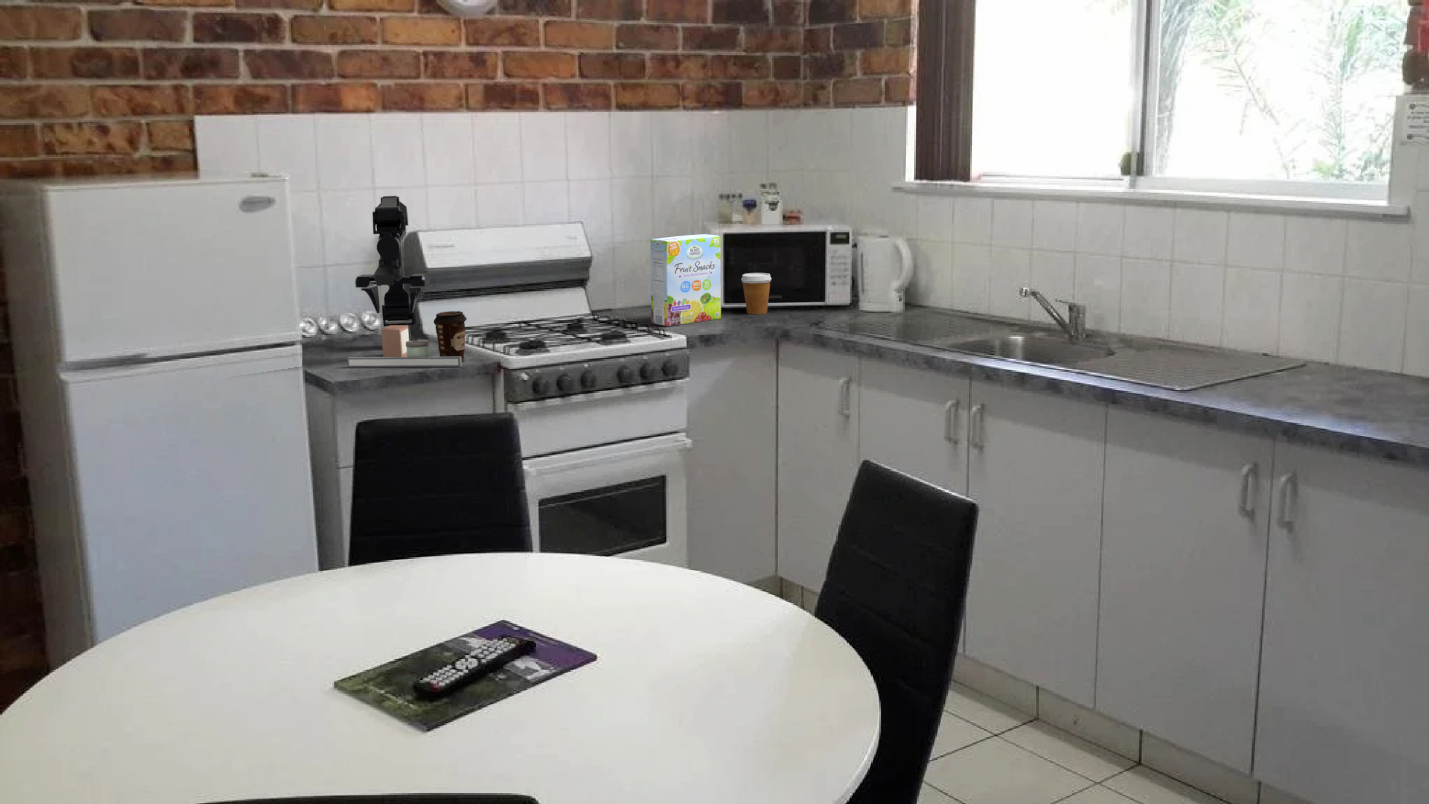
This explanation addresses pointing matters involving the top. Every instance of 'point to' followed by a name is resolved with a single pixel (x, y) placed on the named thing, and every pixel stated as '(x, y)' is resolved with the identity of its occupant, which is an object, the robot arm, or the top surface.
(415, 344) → the spice jar
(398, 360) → the rail
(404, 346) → the tea box
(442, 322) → the coffee cup
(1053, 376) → the top surface
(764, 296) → the disposable coffee cup
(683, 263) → the snack box
